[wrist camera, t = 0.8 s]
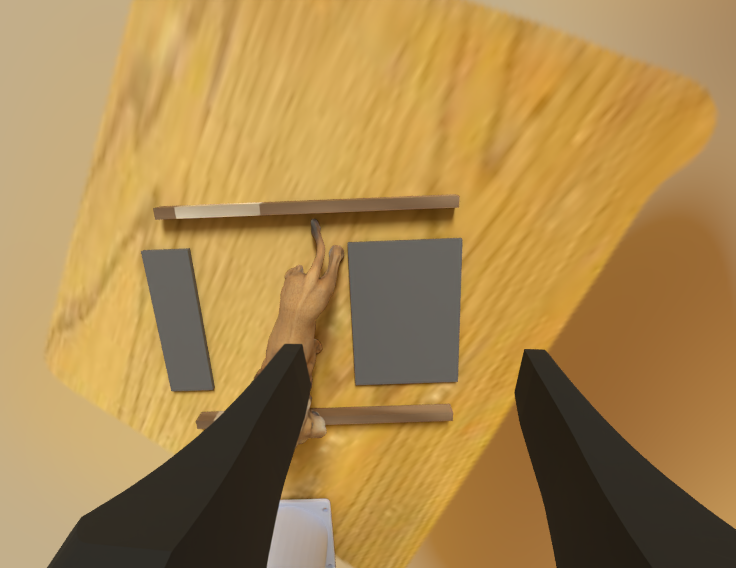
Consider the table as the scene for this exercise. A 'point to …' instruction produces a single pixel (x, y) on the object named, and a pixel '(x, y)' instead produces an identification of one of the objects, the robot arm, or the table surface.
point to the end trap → (179, 318)
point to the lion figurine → (305, 318)
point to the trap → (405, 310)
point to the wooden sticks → (328, 206)
